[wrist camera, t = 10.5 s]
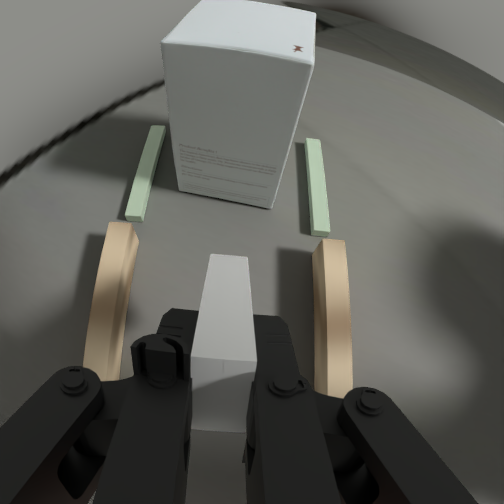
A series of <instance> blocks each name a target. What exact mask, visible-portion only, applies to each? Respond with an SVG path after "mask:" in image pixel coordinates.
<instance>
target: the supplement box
mask: <svg viewBox="0 0 504 504" xmlns="http://www.w3.org/2000/svg"><path fill="white" fill-rule="evenodd" d="M315 22H316V13H313V12H309V11H304V10H299V9H294V8H289V7H284V6H278V5H273V4H267V3H260V2H254V1H246V0H201V1H200V2H199V3H198V4H197V5H196V6H195V7H194V8H193V9H192V10H191V11H190V12H189V13H188V14H187V15H186V16H185V17H184V18H183V19H182V20H181V22H179V24H177V25H176V26H175V27H174V28H173V29H172V30H171V31H170V32H169V33H168V35H167V36H166V37H165V38H164V39H163V40H162V41H161V43H160V44H161V51H162V59H163V67H164V77H165V86H166V97H167V107H168V115H169V124H170V132H171V140H172V148H173V156H174V163H175V169H176V175H177V181H178V187H179V191H184V192H190V193H195V194H200V195H205V196H210V197H216V198H221V199H226V200H231V201H235V202H240V203H245V204H250V205H255V206H259V207H264V208H269V209H272V207H273V204H274V201H275V197H276V194H277V191H278V187H279V184H280V180H281V177H282V173H283V170H284V167H285V163H286V160H287V157H288V153H289V150H290V147H291V143H292V140H293V136H294V133H295V129H296V126H297V123H298V119H299V116H300V112H301V109H302V106H303V102H304V99H305V96H306V92H307V89H308V85H309V82H310V78H311V75H312V72H313V68H314V57H315Z"/></svg>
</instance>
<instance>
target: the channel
mask: <svg viewBox="0 0 504 504" xmlns="http://www.w3.org/2000/svg"><path fill="white" fill-rule="evenodd" d="M138 244H139V240H138V238H137V235H136V233H135V231H134V228H133V226H132V224H131V223H120V222H109V226H108V230H107V234H106V238H105V242H104V246H103V250H102V255H101V259H100V264H99V268H98V273H97V278H96V283H95V288H94V293H93V299H92V305H91V310H90V317H89V323H88V330H87V337H86V344H85V352H84V361H83V367H85V368H89V369H91V370H92V371H94V372H95V373H97V375H98V377H99V378H100V380H101V381H114V380H119V376H120V365H121V355H122V346H123V338H124V330H125V322H126V315H127V308H128V301H129V294H130V288H131V282H132V276H133V270H134V265H135V259H136V254H137V249H138ZM312 265H313V293H314V346H315V378H314V391H316V392H318V393H321V394H324V395H328V396H333V397H338V398H344V396H345V395H346V394H347V393H348V391H350V390H352V338H351V316H350V299H349V284H348V271H347V259H346V249H345V241H344V240H334V239H322V240H321V242H320V243H319V245H318V247H317V248H316V250H315V251H314V253H313V254H312Z"/></svg>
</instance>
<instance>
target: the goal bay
mask: <svg viewBox="0 0 504 504" xmlns="http://www.w3.org/2000/svg"><path fill="white" fill-rule="evenodd" d="M165 133H166V129H165V126H158V125H151V128H150V131H149V134H148V137H147V140H146V143H145V146H144V150H143V153H142V156H141V159H140V162H139V166H138V169H137V172H136V176H135V179H134V183H133V186H132V190H131V194H130V197H129V201H128V205H127V209H126V213H125V217H126V219H127V221H135V222H143V220H144V215H145V211H146V206H147V202H148V198H149V193H150V189H151V185H152V181H153V177H154V173H155V170H156V166H157V162H158V158H159V155H160V151H161V147H162V144H163V140H164V137H165ZM304 146H305V157H306V169H307V181H308V195H309V209H310V225H311V235H312V236H323V237H327V236H328V234H329V233H330V223H329V212H328V202H327V193H326V184H325V175H324V167H323V159H322V151H321V144H320V140H317V139H310V138H306V141H305V144H304Z"/></svg>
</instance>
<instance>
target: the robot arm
mask: <svg viewBox="0 0 504 504" xmlns="http://www.w3.org/2000/svg"><path fill="white" fill-rule="evenodd" d="M131 354H132V363H133V370H134V376H133V377H130V378H127V379H123V380H114V381H101V380H100V378H99V377H98V375H97V373H95V372H94V371H92V370H91V369H89V368H85V367H81V366H70V367H67V368H64V369H61V370H59V371H58V372H56V373H55V374H54V375H53V376H52V377H50V378H49V379H48V380H47V381H46V382H45V383H44V384H43V385H42V386H41V387H40V388H39V389H38V390H37V391H36V392H35V393H34V394H33V395H32V396H31V397H30V398H29V399H28V400H27V401H26V402H25V403H24V404H23V405H22V406H21V407H20V408H19V409H18V410H17V411H16V412H15V413H14V414H13V415H12V416H11V417H10V419H9V420H8V421H7V422H6V423H5V424H4V425H3V426H2V427H1V428H0V504H87V503H88V502H89V500H90V499H91V497H92V495H93V494H94V492H95V491H96V493H95V497H94V501H93V504H185V496H186V485H187V474H188V464H189V454H190V432H191V429H195V430H206V431H218V432H234V433H245V431H247V439H246V445H245V450H244V455H243V461H242V463H245V468H246V494H247V504H478V503H477V502H476V501H475V499H474V498H473V497H472V496H471V495H470V493H469V492H468V491H467V490H466V488H465V487H464V486H463V485H462V484H461V482H460V481H459V480H458V479H457V478H456V476H455V475H454V474H453V473H452V471H451V470H450V469H449V468H448V467H447V465H446V464H445V463H444V462H443V461H442V459H441V458H440V457H439V456H438V455H437V453H436V452H435V451H434V450H433V449H432V447H431V446H430V445H429V444H428V443H427V441H426V440H425V439H424V438H423V437H422V435H421V434H420V433H419V432H418V431H417V430H416V428H415V427H414V426H413V425H412V424H411V422H410V421H409V420H408V419H407V418H406V416H405V415H404V414H403V413H402V412H401V410H400V409H399V408H398V407H397V406H396V405H395V403H394V402H393V401H392V400H391V399H390V398H389V397H388V396H387V395H386V394H385V393H383V392H381V391H379V390H377V389H374V388H368V387H359V388H355V389H352V390H350V391H348V393H347V394H346V395H345V396H344V398H338V397H333V396H328V395H324V394H321V393H318V392H316V391H314V390H312V388H311V386H310V384H309V383H308V381H307V380H306V379H305V378H304V377H302V376H301V375H300V374H299V370H298V366H297V362H296V358H295V354H294V350H293V346H292V342H291V338H290V334H289V330H288V326H287V324H286V323H285V322H284V321H283V320H282V319H281V318H280V317H279V316H268V315H253V311H252V300H251V288H250V277H249V266H248V257H242V256H231V255H220V254H211V255H210V260H209V265H208V270H207V274H206V279H205V284H204V289H203V294H202V299H201V304H200V309H199V311H194V310H184V309H175V308H172V309H170V310H169V311H168V312H167V313H165V314H164V315H163V317H162V319H161V322H160V325H159V327H158V330H157V334H151V335H146V336H143V337H141V338H139V339H138V340H136V341H135V342H134V343H133V344H132V346H131ZM96 489H97V490H96Z"/></svg>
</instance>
